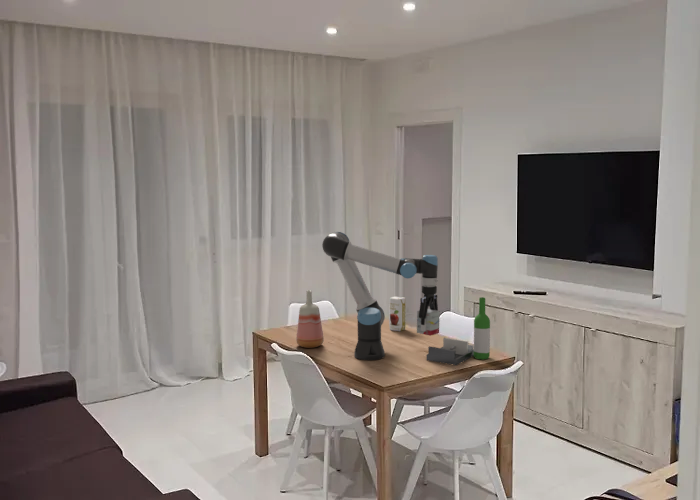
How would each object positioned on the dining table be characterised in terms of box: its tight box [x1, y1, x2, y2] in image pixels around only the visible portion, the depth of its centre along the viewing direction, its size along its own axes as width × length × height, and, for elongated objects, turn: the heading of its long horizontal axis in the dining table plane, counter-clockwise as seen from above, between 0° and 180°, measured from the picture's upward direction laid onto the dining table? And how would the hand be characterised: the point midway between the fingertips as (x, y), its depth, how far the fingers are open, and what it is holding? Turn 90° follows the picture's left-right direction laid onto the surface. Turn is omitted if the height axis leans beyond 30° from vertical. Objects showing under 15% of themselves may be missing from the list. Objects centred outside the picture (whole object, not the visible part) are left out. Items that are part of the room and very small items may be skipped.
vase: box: [295, 290, 325, 349], centre depth 349 cm, size 14×14×30 cm
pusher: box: [442, 337, 469, 355], centre depth 328 cm, size 13×6×7 cm, turn 55°
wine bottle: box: [473, 296, 491, 361], centre depth 324 cm, size 8×8×30 cm
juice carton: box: [388, 295, 407, 332], centre depth 384 cm, size 8×9×19 cm
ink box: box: [416, 308, 441, 337], centre depth 338 cm, size 9×9×12 cm
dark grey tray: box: [426, 344, 474, 366], centre depth 326 cm, size 16×21×7 cm
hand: (428, 329), depth 338 cm, fingers closed on ink box, 9 cm apart
